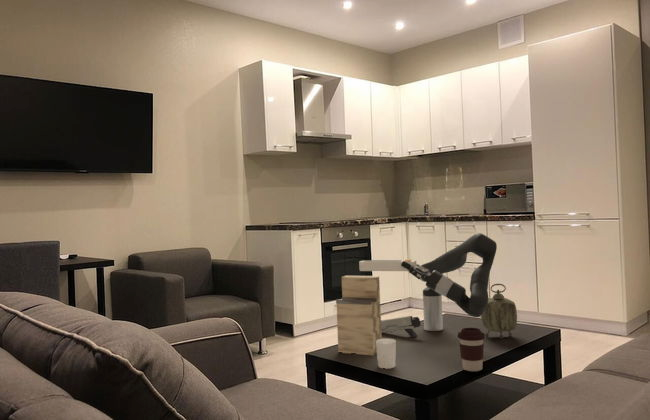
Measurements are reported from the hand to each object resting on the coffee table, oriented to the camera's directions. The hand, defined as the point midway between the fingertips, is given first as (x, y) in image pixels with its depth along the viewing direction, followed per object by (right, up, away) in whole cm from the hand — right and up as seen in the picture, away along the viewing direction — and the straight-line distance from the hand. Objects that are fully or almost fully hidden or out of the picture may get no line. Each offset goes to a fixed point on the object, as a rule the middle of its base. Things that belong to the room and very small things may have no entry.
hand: (403, 262), depth 222 cm
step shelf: (-18, -40, +11) cm, 45 cm away
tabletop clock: (+48, -37, +24) cm, 65 cm away
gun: (+2, -39, +36) cm, 54 cm away
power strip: (-6, -4, +3) cm, 8 cm away
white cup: (-9, -40, -13) cm, 43 cm away
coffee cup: (+23, -38, -21) cm, 49 cm away
